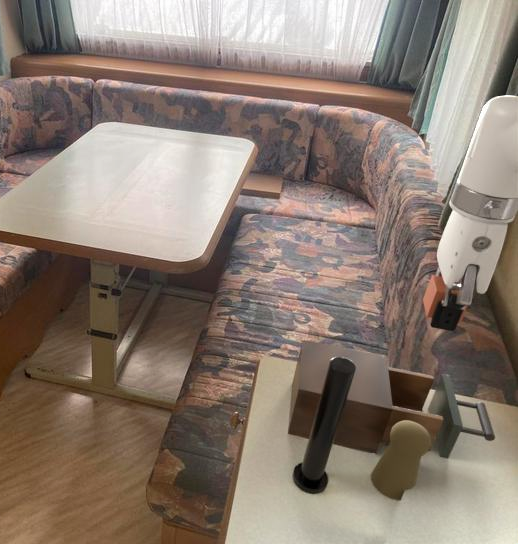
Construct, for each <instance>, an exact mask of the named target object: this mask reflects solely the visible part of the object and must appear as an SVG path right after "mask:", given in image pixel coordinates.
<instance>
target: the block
mask: <svg viewBox="0 0 518 544" xmlns="http://www.w3.org/2000/svg"><path fill="white" fill-rule="evenodd" d="M454 283H455V284H460V285H461V282H459V281H458V282H454ZM445 288H446V284H445V283H444V280H443V277H442V276H438V275H435V274H431V276H430V280H429V282H428V284H427V287H426V289H425V290H426V291H425V293H424V296H423V299H422V302H423V307H424V311H425V315H426V317H427V318H431V319H432V317H433V314H434V311H435V309H436V306H437V304H438V301H440V302H441V301H442V298H443V294H444V291H445ZM459 292H460V291H457V290H452V292H451V295H450V296H452V295H458V294H459ZM468 306H469V305H466V307H465V309H464V310H463V312H462V315H461V317H460V320H459V322H458V324H461V323H462V321H463V319H464V316H465V314H466V311H467V309H468Z"/></svg>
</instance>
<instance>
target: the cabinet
mask: <svg viewBox="0 0 518 544" xmlns="http://www.w3.org/2000/svg"><path fill="white" fill-rule="evenodd" d="M335 357H344V358H347V359H349V360H351V361H352V362H353V363H354V364H355V366H356V371H355V374H354V377H353V380H352V384H351V387H350V390H349V393H348V396H347V400H346V403H345V406H344V409H343V413H342V416H341V419H340V422H339V426H338V429H337V432H336V435H335V439H334V442H333V446H334V445H335V446H338V447H343V448H348V449H351V450H356V451H361V452H365V453H368V454H374V455H377V454H378V452H379V449H380V446H381V444H382V443H381V441H382V438H383V435H384V432H385V430H386V427H387V424H388V422H389V419H390V416H391V414H392V411H393V405H392V396H391V388H390V380H389V371H388V367H389V364H388V356H387V355H383V354H378V353H372V352H367V351H362V350H357V349H353V348H346V347H343V346H337V345H332V344H327V343H321V342H317V341H312V340H307V339H302V340H301V344H300V349H299V352H298V357H297V362H296V365H295V371H294V374H293V379H292V384H291V394H290V404H289V416H288V427H287V435H291V436H296V437H299V438H304V439H308V440H309V437H310V433H311V429H312V426H313V422H314V418H315V415H316V411H317V407H318V404H319V400H320V397H321V393H322V389H323V386H324V382H325V378H326V375H327V371H328V367H329V364H330V361H331V359H332V358H335Z"/></svg>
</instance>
